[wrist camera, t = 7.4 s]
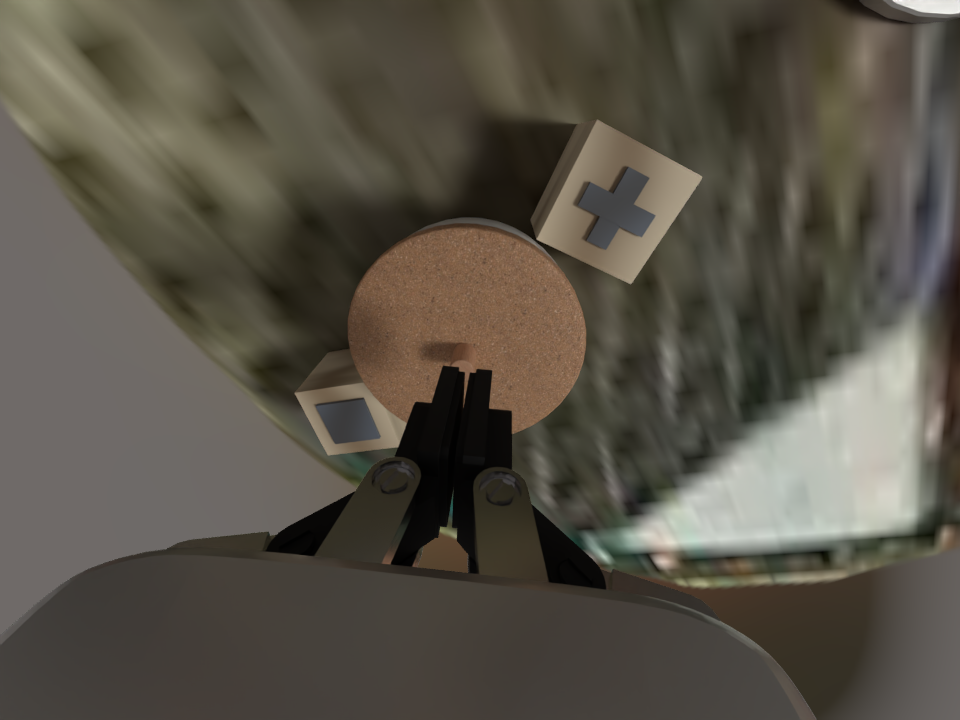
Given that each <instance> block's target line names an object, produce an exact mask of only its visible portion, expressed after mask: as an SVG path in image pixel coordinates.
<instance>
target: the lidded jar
mask: <svg viewBox="0 0 960 720" xmlns="http://www.w3.org/2000/svg"><path fill="white" fill-rule="evenodd" d="M348 341H349V346H350V352H351V355H352V358H353V361H354V364H355V367H356V369H357V371H358V373H359V375H360V377H361V378H362V380H363V382H364V384H365V385H366V387H367V388H368V389H369V390H370V392H371V393H372V394H373V396H374V397H375V398H376V399H377V400H378V401H379V402H380V403H381V404H382V405H383V406H384V407H385V408H386V409H387V410H388V411H390V412H391V413H392V414H394V415H395V416H396V417H398V418H399V419H401V420H403V421H404V422H406V423H407V422H408V419H409V416H410V413H411V411H412V408H413V405H414V403H415V402H416V401H417V402H427V403H432V400H433V396H434V393H435V390H436V386H437V383H438V380H439V376H440V373H441V370H442V367H443V366H453V367H459V371H461V372H465V385H464V402H465V396H466V391H467V385H468V380H469V374H470V372H472V373H476V369H485V370H492V381H491V393H490V404H489V409H500V410H510V411H512V434H513V433H516V432H519V431H521V430H523V429H525V428H528V427H530V426H532V425H534V424H535V423H537V422H538V421H540V420H541V419H543V418H544V417H546V416H547V415H548V414H549V413H551V412H552V411H553V410H554V409H555V408H556V407H557V406H558V405H559V404H560V403H561V402H562V401H563V399H564V398H565V397H566V396H567V395H568V393H569V392H570V390H571V389H572V387H573V385H574V383H575V382H576V380H577V378H578V375H579V373H580V370H581V367H582V364H583V361H584V355H585V349H586V327H585V321H584V316H583V311H582V309H581V306H580V303H579V301H578V298H577V296H576V293H575V291H574V289H573V287H572V286H571V284H570V282H569V281H568V279H567V277H566V276H565V274H564V273H563V271H562V270H561V269H560V268H559V267H558V266H557V264H556V262H555V261H554V260H553V258H552V257H551V256H550V255H549V254H548V253H547V252H546V250H545V249H544V248H543V247H541V246H540V245H539V244H538V243H537V242H535V241H534V240H533V239H532V238H530V237H529V236H528V235H526V234H525V233H523V232H521V231H519V230H518V229H516V228H514V227H512V226H509V225H507V224H504V223H501V222H499V221H495V220H490V219H484V218H472V217H462V218H455V219H448V220H444V221H441V222H438V223H434V224H431V225H428V226H426V227H424V228H422V229H420V230H418V231H416V232H414V233H412V234H411V235H409V236H408V237H406V238H404V239H402V240H401V241H399V242H397V243H396V244H395V245H393V246H392V247H391V248H389V249H388V250H387V251H386V252H384V253H383V254H382V255H381V256H380V257H379V258H378V259H377V260H376V261H375V262H374V263H373V264H372V266H371V267H370V268H369V269H368V270H367V271H366V273H365V274H364V276H363V278H362V279H361V281H360V283H359V284H358V286H357V288H356V291H355V293H354V296H353V299H352V301H351V305H350V310H349V316H348ZM463 407H464V405H463Z"/></svg>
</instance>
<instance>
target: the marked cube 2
mask: <svg viewBox="0 0 960 720" xmlns="http://www.w3.org/2000/svg"><path fill="white" fill-rule="evenodd" d="M702 178H703V177H702V176H700V175H698V174H696V173H695V172H693V171H691V170H689V169H687V168H685V167H684V166H682V165H680V164H678V163H676V162H674V161H672V160H671V159H669V158H667V157H665V156H663V155H661V154H660V153H658V152H656V151H654V150H652V149H650V148H649V147H647V146H645V145H643V144H641V143H639V142H638V141H636V140H634V139H632V138H630V137H628V136H626V135H625V134H623V133H621V132H619V131H617V130H615V129H614V128H612V127H610V126H608V125H606V124H604V123H603V122H601V121H599V120H593V121H589V122H584V123H580V124H576V126H575V128H574V130H573V133H572V135H571V137H570V139H569V141H568V143H567V145H566V147H565V149H564V151H563V153H562V155H561V157H560V159H559V162H558V164H557V166H556V168H555V170H554V172H553V174H552V176H551V178H550V180H549V182H548V184H547V186H546V188H545V190H544V193H543V195H542V197H541V199H540V201H539V203H538V205H537V207H536V209H535V211H534V213H533V215H532V217H531V219H530V221H531V224H532V227H533V230H534V233H535V236H536V239H537V240H539V241H541V242H543V243H545V244H547V245H549V246H551V247H553V248H556V249H558V250H560V251H562V252H564V253H566V254H568V255H570V256H572V257H575V258H577V259H579V260H581V261H583V262H585V263H587V264H589V265H591V266H594V267H596V268H598V269H600V270H602V271H604V272H606V273H608V274H610V275H613V276H615V277H617V278H619V279H621V280H623V281H625V282H627V283H629V284H631V283H632V282H633V280H634V279H635V278H636V276H637V275H638V273H639V272H640V270H641V269H642V267H643V266H644V264H645V263H646V261H647V260H648V258H649V257H650V255H651V254H652V252H653V251H654V249H655V248H656V246H657V245H658V243H659V242H660V240H661V239H662V237H663V236H664V234H665V233H666V231H667V230H668V228H669V227H670V225H671V224H672V222H673V221H674V219H675V218H676V216H677V215H678V214H679V212H680V211H681V209H682V208H683V206H684V205H685V203H686V202H687V200H688V199H689V197H690V196H691V194H692V193H693V191H694V190H695V188H696V187H697V185H698V184H699V182H700V181H701V179H702Z"/></svg>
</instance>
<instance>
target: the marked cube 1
mask: <svg viewBox="0 0 960 720" xmlns="http://www.w3.org/2000/svg"><path fill="white" fill-rule="evenodd" d="M295 395H296V397H297V399H298V401H299V402H300V404H301V406H302V408H303V410H304V412H305V414H306V415H307V417H308V419H309V421H310V423H311V425H312V427H313V428H314V430H315V432H316V434H317V436H318V438H319V440H320V441H321V443H322V445H323V447H324V449H325V451H326V453H327V454H328V455H335V454H344V453H352V452H360V451H369V450H377V449H385V448H394V447H398V446H399V444H400V441H401V438H402V435H403V433H404V430H405V427H406V424H407V423H406V422H404V421H403V420H401V419H399V418H398V417H396V416H395V415H394V414H392V413H391V412H390V411H388V410H387V409H386V408H385V407H384V406H383V405H382V404H381V403H380V402H379V401H378V400H377V399H376V398H375V397H374V396H373V394H372V393H371V392H370V390H369V389H368V388H367V387H366V385H365V384H364V382H363V380H362V378H361V377H360V375H359V373H358V371H357V369H356V367H355V364H354V361H353V358H352V355H351V352H350V349H345V350H339V351H333V352H328V353H327V354H326V355H325V357H324V358H323V359H322V360H321V361H320V363H319V364H318V365H317V366H316V367H315V369H314V370H313V371H312V372H311V373H310V375H309V376H308V377H307V378H306V379H305V381H304V382H303V383H302V384H301V385H300V387H299V388H298V389H297V390H296V391H295Z"/></svg>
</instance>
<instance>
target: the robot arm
mask: <svg viewBox="0 0 960 720" xmlns="http://www.w3.org/2000/svg"><path fill="white" fill-rule="evenodd" d="M859 1H860V2H861V3H862V4H863V5H864V6H866V7H868V8H869V9H871V10H873V11H875V12H877V13H879V14H881V15H882V16H884V17H886V18H890V19H895V20H900V21H905V22H910V23H928V22H944V21H948V20H952V19H956V18H960V0H859ZM491 381H492V370H485V369H476V373H472V372H470V374H469V380H468V385H467V391H466V396H465V402H464V385H465V372H461V371H459V367H453V366H443V367H442V370H441V373H440V376H439V380H438V383H437V386H436V390H435V393H434V396H433V400H432V403H427V402H417V401H416V402H415V403H414V405H413V408H412V411H411V413H410V416H409V419H408V422H407V424H406V427H405V430H404V433H403V435H402V438H401V441H400V444H399V446H398V449H397V452H396V455H395V457H389V458H386V459H383V460H380V461H379V462H377V463H376V464H374V465H373V466H372V467H371V468H370V469H369V471H368V472H367V474H366V475H365V477H364V478H363V480H362V481H361V483H360V485H359V486H358V488H357V489H356V491H355V492H353V493H351V494H349V495H347V496H345V497H343V498H341V499H340V500H338V501H336V502H334V503H332V504H330V505H328V506H326V507H324V508H323V509H320V510H319V511H317V512H315V513H313V514H311V515H309V516H307V517H305V518H304V519H301V520H300V521H298V522H296V523H294V524H292V525H290V526H288V527H287V528H285V529H284V530H282V531H281V532H279V533H278V534H277V535H272V536H270V534H269V532H259V533H250V534H241V535H231V536H221V537H212V538H202V539H193V540H187V541H183V542H180V543H177V544H175V545H173V546H171V547H169V548H167V549H163V550H155V551H149V552H143V553H139V554H135V555H130V556H126V557H122V558H118V559H115V560H112V561H109V562H106V563H103V564H100V565H97V566H95V567H92V568H90V569H87V570H85V571H83V572H81V573H79V574H77V575H75V576H74V577H72V578H70V579H69V580H67V581H66V582H64V583H63V584H61V585H60V586H58V587H57V588H56V589H55V590H53V591H52V592H51V593H49V594H48V595H46V596H45V597H44V598H43V599H42V600H40V601H39V602H38V603H37V604H35V605H34V606H33V607H32V608H31V609H30V610H28V611H27V612H26V613H25V614H24V615H23V616H22V617H21V618H19V619H18V620H17V621H16V622H15V623H14V624H12V625H11V626H10V627H9V628H8V629H7V630H6V631H5V632H4V633H3V634H1V635H0V720H816V718H815V716H814V715H813V713H812V711H811V710H810V708H809V707H808V705H807V703H806V702H805V700H804V698H803V697H802V695H801V694H800V692H799V691H798V690H797V688H796V686H795V685H794V684H793V682H792V681H791V679H790V678H789V677H788V675H787V674H786V673H785V672H784V670H783V669H782V668H781V667H780V666H779V664H778V663H777V662H776V661H775V660H774V659H773V658H772V657H771V656H770V655H769V654H768V653H767V652H766V651H765V650H763V649H762V648H761V647H760V646H759V645H758V644H756V643H755V642H753V641H752V640H750V639H749V638H748V637H746V636H745V635H743V634H741V633H740V632H738V631H736V630H735V629H733V628H731V627H730V626H728V625H726V624H724V623H722V622H721V621H720V619H719V618H718V617H717V615H716V614H715V613H714V611H713V610H712V609H711V608H710V607H709V606H708V605H706V604H705V603H704V602H703V601H702V600H700V599H698V598H696V597H694V596H692V595H689V594H686V593H683V592H680V591H678V590H675V589H671V588H669V587H666V586H662V585H660V584H656V583H654V582H651V581H648V580H645V579H641V578H639V577H636V576H633V575H630V574H627V573H624V572H621V571H618V570H615V569H613V570H612V572H611V573H610V572H607V571H604V570H601V569H600V567H599V566H598V565H597V564H596V563H595V562H594V560H593V559H592V558H590V557H589V556H588V555H587V554H586V553H585V552H584V551H583V550H582V549H581V548H579V547H578V546H577V545H576V544H575V543H574V542H573V541H572V540H571V539H569V538H568V537H567V536H566V535H565V534H564V533H563V532H562V531H561V530H560V529H558V528H557V527H556V526H555V525H554V524H553V523H552V522H551V521H550V520H548V519H547V518H546V517H545V516H544V515H543V514H542V513H541V512H540V511H539V510H537V509H536V508H535V507H534V506H533V505H532V504H531V500H530V496H529V491H528V487H527V485H526V482H525V480H524V479H523V478H522V477H521V476H520V475H519V474H518V473H516V472H515V471H513V470H512V411H510V410H500V409H489V404H490V393H491ZM463 405H464V407H463ZM453 488H454V493H453ZM452 494H453V520H452V528H458V529H457V542H458V543H459V544H460V545H461V546H462V548H463V549H464V550H465V551H466V552H467V553H468V573H462V572H454V571H445V570H435V569H426V568H418V567H417V566H418V563H419V561H420V558H421V555H422V550H423V546H424V545H426V544H427V543H429V542H430V541H431V540H433V539H434V538H438V535H439V530H440V526H441V527H447V523H448V517H449V511H450V505H451V499H452Z"/></svg>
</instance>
